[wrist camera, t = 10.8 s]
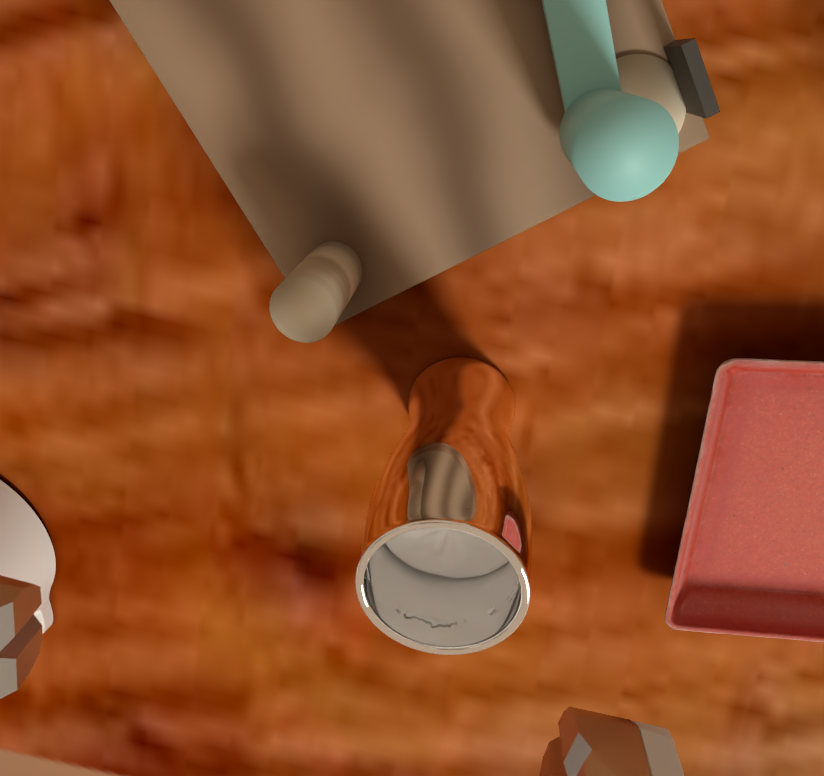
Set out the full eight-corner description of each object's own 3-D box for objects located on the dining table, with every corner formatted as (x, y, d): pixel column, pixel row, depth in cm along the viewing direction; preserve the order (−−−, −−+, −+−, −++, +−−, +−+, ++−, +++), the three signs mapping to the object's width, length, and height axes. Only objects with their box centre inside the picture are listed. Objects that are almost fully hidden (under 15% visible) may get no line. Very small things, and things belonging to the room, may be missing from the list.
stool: (330, 316, 36) (286, 383, 29) (97, -62, 30) (-41, -103, 22) (694, 132, 30) (759, 156, 23) (504, -398, 23) (507, -616, 16)
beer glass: (437, 326, 36) (401, 485, 23) (547, 386, 37) (574, 572, 23) (381, 422, 39) (319, 611, 26) (483, 475, 40) (475, 684, 26)
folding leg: (502, -119, 25) (503, -185, 18) (589, -156, 24) (624, -238, 17) (566, 177, 29) (586, 213, 22) (641, 155, 28) (685, 185, 21)
